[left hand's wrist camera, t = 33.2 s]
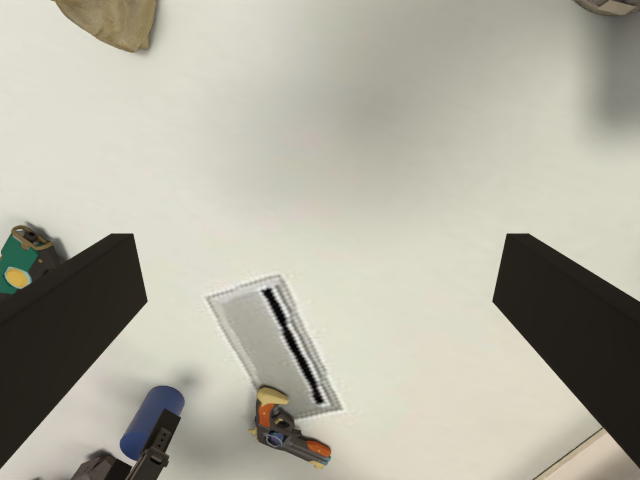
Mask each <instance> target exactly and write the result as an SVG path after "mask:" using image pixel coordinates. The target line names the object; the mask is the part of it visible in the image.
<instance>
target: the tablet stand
mask: <svg viewBox="0 0 640 480" xmlns="http://www.w3.org/2000/svg"><path fill="white" fill-rule="evenodd" d="M535 480H640V469H639V468H638V466H637V465H636V464H635V463H634V462H633V461H632V460H631V459H630V457H629V456H628V455H627V454H626V453H625V452H624V451H623V449H622V448H621V447H620V446H619V445H618V444H617V443H616V441H615V440H614V439H613V438H612V437H611V436H610V435H609V434H608V432H607V431H606V430H605V429H604V428H603V429H602V430H600V431H599V432H598V433H596V434H595V435H594V436H592V437H591V438H590V439H588V440H587V441H586V442H584V443H583V444H582V445H580V446H579V447H578V448H576V449H575V450H574V451H572V452H571V453H570V454H568V455H567V456H566V457H564V458H563V459H562V460H560V461H559V462H558V463H556V464H555V465H554V466H552V467H551V468H550V469H548V470H547V471H546V472H544V473H543V474H542V475H540V476H539V477H538V478H536V479H535Z"/></svg>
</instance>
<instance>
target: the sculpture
mask: <svg viewBox="0 0 640 480" xmlns="http://www.w3.org/2000/svg"><path fill="white" fill-rule="evenodd" d="M52 1H55V2H56V4H57V6H58V7H59V8H60V10H61V11H62V13H63V14H64V15H65V16H66V17H67V18H68V19H70V20H71V21H72V22H73V23H75V24H76V25H78V26H79V27H81V28H82V29H84V30H85V31H87V32H88V33H90V34H92V35H93V36H94V37H96V38H97V39H99V40H100V41H102V42H104V43H107V44H109V45H111V46H114V47H116V48H119V49H122V50H125V51H128V52H136V51H137V50H138V48H141V49H148V47H149V43H150V42H149V39H148V35H149V33H150V30H151V27H152V24H153V19H154V14H155V8H156V0H52Z"/></svg>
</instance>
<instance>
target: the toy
mask: <svg viewBox="0 0 640 480" xmlns="http://www.w3.org/2000/svg"><path fill="white" fill-rule="evenodd" d="M99 459H100V457H97V458H94V459H92V460H90V461H88V462H85V463H83V464H81V466H80V467H79V469H78V470H77V471H76V473H75V474H74V476H73V477H72V479H71V480H104V478H105V476H106V475H107V473H108V471H109V469H110V468H111V466H112V464H113V463H114V461H115V459H114V458H112V457H111V456H107V457H104V458H102V459H100V460H99ZM128 475H129V474H128Z"/></svg>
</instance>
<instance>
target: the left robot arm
mask: <svg viewBox="0 0 640 480" xmlns="http://www.w3.org/2000/svg"><path fill="white" fill-rule="evenodd" d="M576 1H577V2H578V3H579V4H580V5H581V6H583V7H584V8H586V9H588V10H590V11H592V12H594V13H597V14H602V15H609V16H616V15H624V14H629V13H633V12H636V11H639V10H640V0H576ZM147 302H148V301H147V296H146V291H145V287H144V282H143V277H142V273H141V268H140V263H139V258H138V254H137V249H136V244H135V240H134V235H133V234H110V235H108V236H107V237H105V238H103V239H102V240H100V241H99V242H97V243H95V244H94V245H92V246H90V247H89V248H87V249H85V250H84V251H82V252H81V253H79V254H77V255H76V256H74V257H72V258H71V259H69V260H68V261H66V262H64V263H63V264H61V265H59V266H58V267H56V268H55V269H53V270H51V271H50V272H48V273H46V274H45V275H43V276H41V277H40V278H38V279H37V280H35V281H33V282H32V283H30V284H28V285H27V286H25V287H24V288H22V289H20V290H19V291H17V292H15V293H14V294H12V295H11V296H9V297H7V298H6V299H4V300H2V301H1V302H0V469H1V468H2V466H3V465H4V464H5V463H6V462H7V461H8V460H9V459H10V457H11V456H12V455H13V454H14V453H15V452H16V451H17V449H18V448H19V447H20V446H21V445H22V444H23V443H24V441H25V440H26V439H27V438H28V437H29V436H30V435H31V434H32V432H33V431H34V430H35V429H36V428H37V427H38V426H39V424H40V423H41V422H42V421H43V420H44V419H45V418H46V416H47V415H48V414H49V413H50V412H51V411H52V410H53V409H54V407H55V406H56V405H57V404H58V403H59V402H60V401H61V399H62V398H63V397H64V396H65V395H66V394H67V393H68V391H69V390H70V389H71V388H72V387H73V386H74V385H75V383H76V382H77V381H78V380H79V379H80V378H81V377H82V376H83V374H84V373H85V372H86V371H87V370H88V369H89V368H90V366H91V365H92V364H93V363H94V362H95V361H96V360H97V358H98V357H99V356H100V355H101V354H102V353H103V352H104V351H105V349H106V348H107V347H108V346H109V345H110V344H111V343H112V341H113V340H114V339H115V338H116V337H117V336H118V335H119V333H120V332H121V331H122V330H123V329H124V328H125V327H126V326H127V324H128V323H129V322H130V321H131V320H132V319H133V318H134V316H135V315H136V314H137V313H138V312H139V311H140V310H141V308H142V307H143V306H144V305H145V304H146V303H147ZM492 302H493V303H494V304H495V305H496V306H497V307H498V308H499V310H500V311H501V312H502V313H503V314H504V315H505V316H506V318H507V319H508V320H509V321H510V322H511V323H512V324H513V326H514V327H515V328H516V329H517V330H518V331H519V332H520V333H521V335H522V336H523V337H524V338H525V339H526V340H527V341H528V343H529V344H530V345H531V346H532V347H533V348H534V349H535V351H536V352H537V353H538V354H539V355H540V356H541V357H542V358H543V360H544V361H545V362H546V363H547V364H548V365H549V366H550V368H551V369H552V370H553V371H554V372H555V373H556V374H557V376H558V377H559V378H560V379H561V380H562V381H563V382H564V383H565V385H566V386H567V387H568V388H569V389H570V390H571V391H572V393H573V394H574V395H575V396H576V397H577V398H578V399H579V401H580V402H581V403H582V404H583V405H584V406H585V407H586V409H587V410H588V411H589V412H590V413H591V414H592V415H593V416H594V418H595V419H596V420H597V421H598V422H599V423H600V424H601V426H602V427H603V428H604V429H605V430H606V431H607V432H608V434H609V435H610V436H611V437H612V438H613V439H614V440H615V441H616V443H617V444H618V445H619V446H620V447H621V448H622V449H623V451H624V452H625V453H626V454H627V455H628V456H629V457H630V459H631V460H632V461H633V462H634V463H635V464H636V465H637V466H638V468H639V469H640V302H639V301H638V300H636V299H634V298H633V297H631V296H629V295H628V294H626V293H625V292H623V291H621V290H620V289H618V288H616V287H615V286H613V285H612V284H610V283H608V282H607V281H605V280H603V279H602V278H600V277H599V276H597V275H595V274H594V273H592V272H590V271H589V270H587V269H585V268H584V267H582V266H581V265H579V264H577V263H576V262H574V261H572V260H571V259H569V258H568V257H566V256H564V255H563V254H561V253H559V252H558V251H556V250H555V249H553V248H551V247H550V246H548V245H546V244H545V243H543V242H541V241H540V240H538V239H537V238H535V237H533V236H532V235H530V234H507V235H506V240H505V244H504V249H503V254H502V258H501V263H500V268H499V273H498V277H497V282H496V287H495V291H494V296H493V301H492Z"/></svg>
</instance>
